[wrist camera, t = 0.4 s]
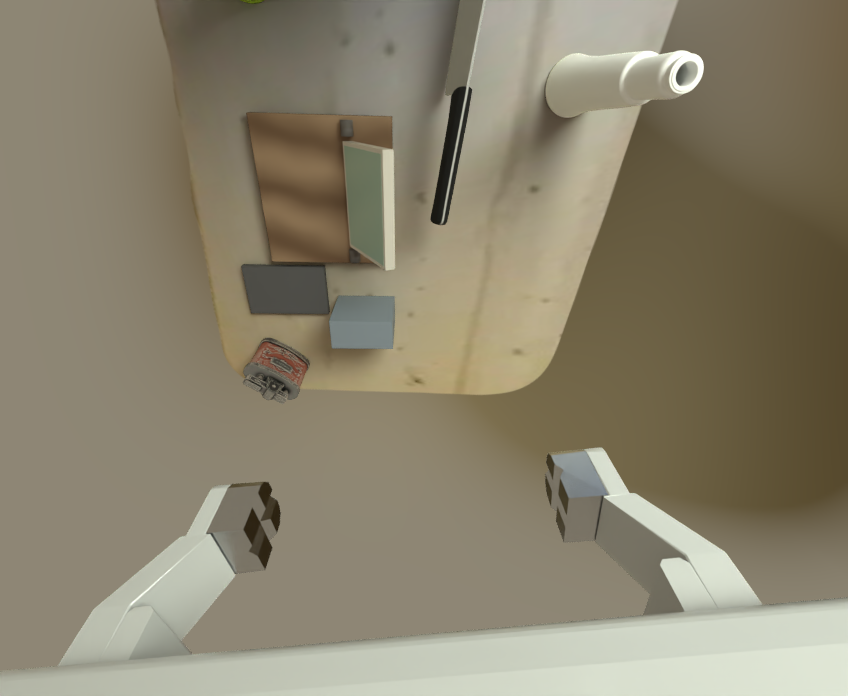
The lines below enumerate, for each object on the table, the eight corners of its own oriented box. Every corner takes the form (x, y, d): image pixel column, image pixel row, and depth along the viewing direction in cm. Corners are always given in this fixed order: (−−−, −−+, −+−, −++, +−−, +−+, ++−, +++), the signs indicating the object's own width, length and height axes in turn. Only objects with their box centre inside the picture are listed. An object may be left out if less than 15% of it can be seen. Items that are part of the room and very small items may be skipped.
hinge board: (250, 112, 46) (242, 112, 43) (392, 116, 46) (391, 117, 44) (275, 257, 54) (269, 264, 52) (393, 259, 55) (393, 266, 53)
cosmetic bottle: (604, 53, 44) (751, 15, 25) (592, 117, 47) (714, 126, 28) (549, 53, 44) (655, 15, 25) (541, 117, 47) (629, 126, 28)
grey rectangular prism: (338, 295, 58) (328, 321, 51) (394, 296, 58) (392, 321, 51) (340, 320, 60) (331, 348, 53) (394, 320, 60) (392, 348, 53)
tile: (352, 141, 46) (342, 141, 45) (393, 149, 39) (382, 149, 38) (358, 244, 52) (349, 246, 51) (395, 268, 45) (385, 270, 44)
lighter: (313, 360, 63) (299, 400, 55) (303, 374, 64) (286, 415, 56) (266, 333, 60) (243, 370, 52) (256, 348, 62) (232, 387, 53)
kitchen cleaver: (477, -154, 35) (524, -224, 27) (495, -147, 36) (546, -214, 28) (418, 206, 51) (436, 230, 43) (431, 208, 52) (451, 232, 44)
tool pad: (243, 264, 55) (241, 266, 54) (324, 265, 55) (323, 267, 54) (253, 310, 58) (251, 313, 58) (329, 311, 59) (328, 313, 58)
